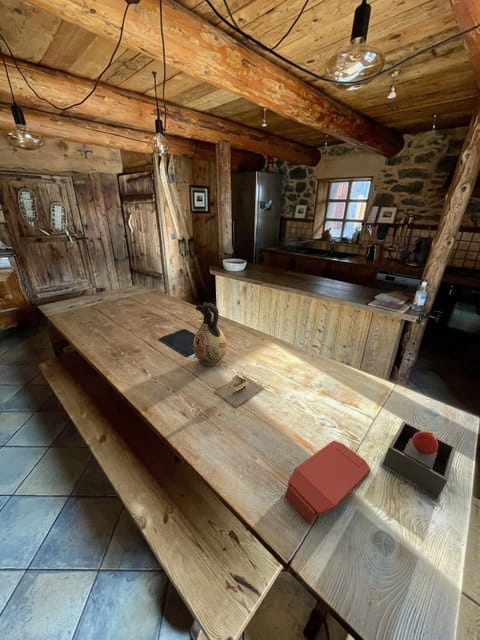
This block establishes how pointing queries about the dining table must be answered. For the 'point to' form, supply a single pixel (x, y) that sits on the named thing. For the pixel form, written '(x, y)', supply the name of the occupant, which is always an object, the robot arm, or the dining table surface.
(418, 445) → the onion
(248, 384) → the architectural model
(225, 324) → the dining table surface
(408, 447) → the block
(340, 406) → the dining table surface
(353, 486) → the carton
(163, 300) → the dining table surface
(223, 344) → the ceramic jug
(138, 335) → the dining table surface
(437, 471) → the crate
